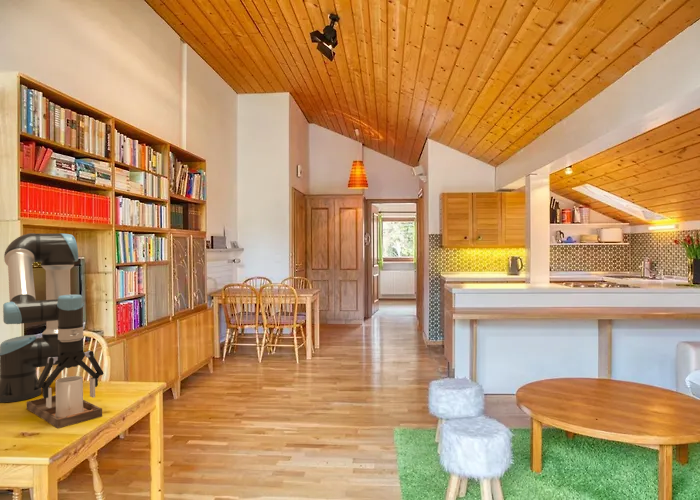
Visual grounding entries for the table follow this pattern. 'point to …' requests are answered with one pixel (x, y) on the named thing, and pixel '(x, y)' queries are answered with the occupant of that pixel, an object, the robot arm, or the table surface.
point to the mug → (69, 396)
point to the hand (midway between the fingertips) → (71, 401)
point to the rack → (49, 416)
